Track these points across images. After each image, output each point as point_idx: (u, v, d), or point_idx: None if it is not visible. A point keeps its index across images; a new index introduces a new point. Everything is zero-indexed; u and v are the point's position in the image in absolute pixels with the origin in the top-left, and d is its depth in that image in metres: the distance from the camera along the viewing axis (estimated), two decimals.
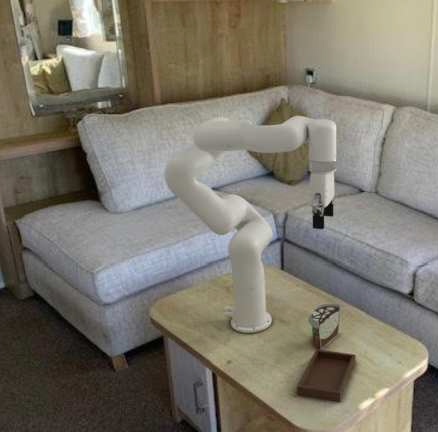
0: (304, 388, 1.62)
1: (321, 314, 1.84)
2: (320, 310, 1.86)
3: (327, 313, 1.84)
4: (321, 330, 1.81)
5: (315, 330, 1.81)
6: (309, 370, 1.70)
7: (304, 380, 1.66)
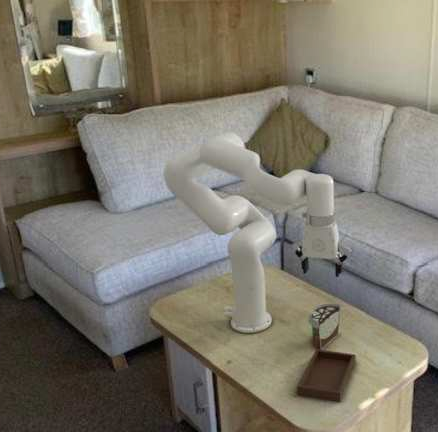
0: (304, 388, 1.62)
1: (321, 314, 1.84)
2: (320, 310, 1.86)
3: (327, 313, 1.84)
4: (321, 330, 1.81)
5: (315, 330, 1.81)
6: (309, 370, 1.70)
7: (304, 380, 1.66)
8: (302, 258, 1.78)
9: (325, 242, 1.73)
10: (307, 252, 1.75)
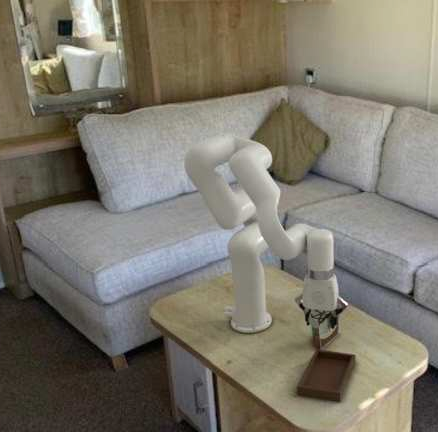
0: (304, 388, 1.62)
1: (321, 314, 1.84)
2: (320, 310, 1.86)
3: (326, 313, 1.84)
4: (321, 330, 1.81)
5: (315, 330, 1.81)
6: (309, 370, 1.70)
7: (304, 380, 1.66)
8: (305, 311, 1.84)
9: (325, 295, 1.79)
10: (307, 304, 1.81)
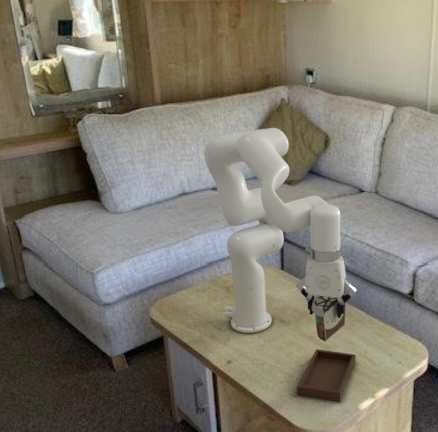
0: (304, 388, 1.62)
1: (326, 301, 1.63)
2: (324, 296, 1.65)
3: (332, 300, 1.63)
4: (326, 319, 1.60)
5: (319, 319, 1.60)
6: (309, 370, 1.70)
7: (304, 380, 1.66)
8: (308, 298, 1.63)
9: (330, 279, 1.57)
10: (310, 289, 1.60)
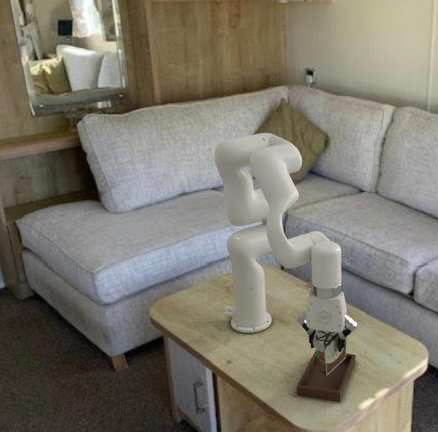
0: (304, 388, 1.62)
1: (327, 335, 1.64)
2: None
3: (333, 334, 1.64)
4: (327, 354, 1.61)
5: (320, 354, 1.61)
6: (309, 370, 1.70)
7: (304, 380, 1.66)
8: (309, 332, 1.64)
9: (331, 315, 1.59)
10: (312, 324, 1.61)
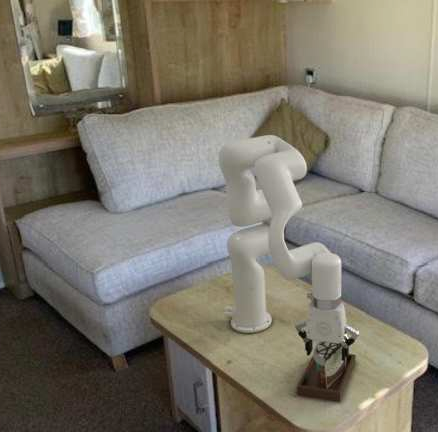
0: (304, 388, 1.62)
1: (327, 348, 1.66)
2: (326, 343, 1.68)
3: (333, 347, 1.66)
4: (327, 367, 1.63)
5: (320, 367, 1.63)
6: (309, 370, 1.70)
7: (304, 380, 1.66)
8: (305, 340, 1.66)
9: (331, 326, 1.60)
10: (311, 335, 1.63)
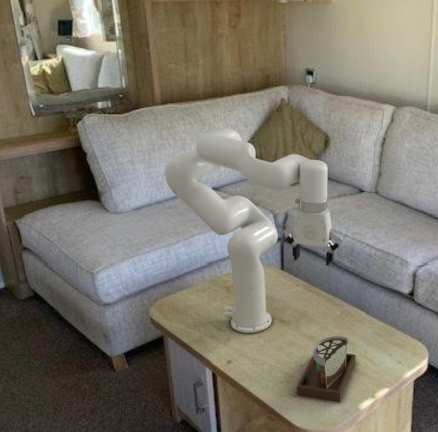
0: (304, 388, 1.62)
1: (327, 348, 1.66)
2: (326, 343, 1.68)
3: (333, 347, 1.66)
4: (327, 367, 1.63)
5: (320, 367, 1.63)
6: (309, 370, 1.70)
7: (304, 380, 1.66)
8: (293, 245, 1.76)
9: (317, 229, 1.70)
10: (298, 239, 1.73)
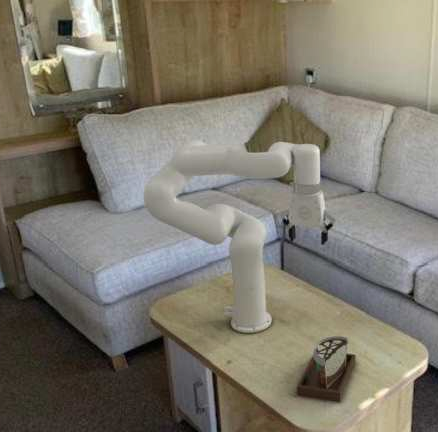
0: (304, 388, 1.62)
1: (327, 348, 1.66)
2: (326, 343, 1.68)
3: (333, 347, 1.66)
4: (327, 367, 1.63)
5: (320, 367, 1.63)
6: (309, 370, 1.70)
7: (304, 380, 1.66)
8: (289, 226, 1.84)
9: (311, 210, 1.79)
10: (294, 220, 1.81)
